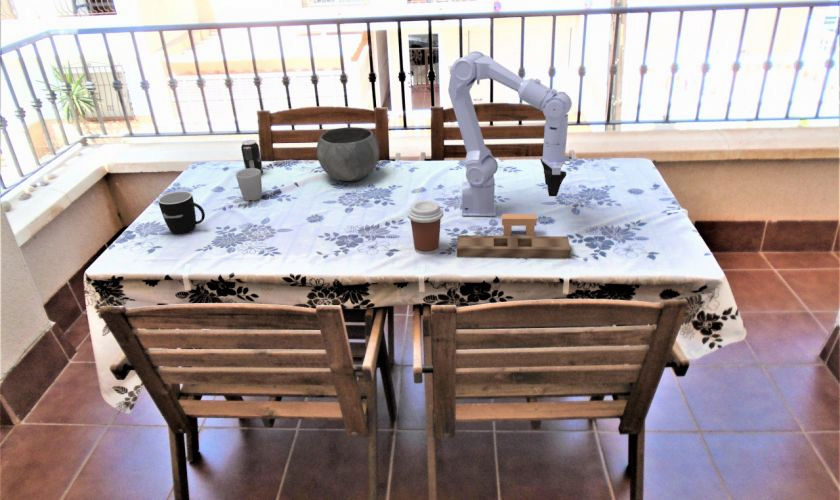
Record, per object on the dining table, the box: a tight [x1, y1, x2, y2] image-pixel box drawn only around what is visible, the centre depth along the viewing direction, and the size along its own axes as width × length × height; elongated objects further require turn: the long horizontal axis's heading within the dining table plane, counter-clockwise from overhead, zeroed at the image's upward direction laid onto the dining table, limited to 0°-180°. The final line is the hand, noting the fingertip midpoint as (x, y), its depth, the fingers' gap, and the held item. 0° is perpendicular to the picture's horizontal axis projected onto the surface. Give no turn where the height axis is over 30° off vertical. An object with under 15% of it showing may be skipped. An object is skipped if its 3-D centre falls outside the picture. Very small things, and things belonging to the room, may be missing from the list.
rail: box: [456, 234, 572, 259], centre depth 152 cm, size 28×7×2 cm, turn 84°
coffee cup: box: [407, 200, 444, 255], centre depth 152 cm, size 9×9×12 cm
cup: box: [235, 168, 263, 202], centre depth 188 cm, size 8×10×8 cm
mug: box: [158, 190, 206, 235], centre depth 168 cm, size 12×9×10 cm
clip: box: [501, 213, 538, 236], centre depth 160 cm, size 9×3×5 cm, turn 84°
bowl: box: [316, 126, 381, 182], centre depth 198 cm, size 20×20×15 cm
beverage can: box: [240, 139, 264, 175], centre depth 204 cm, size 6×6×12 cm
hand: (551, 190), depth 161 cm, fingers open, 7 cm apart
